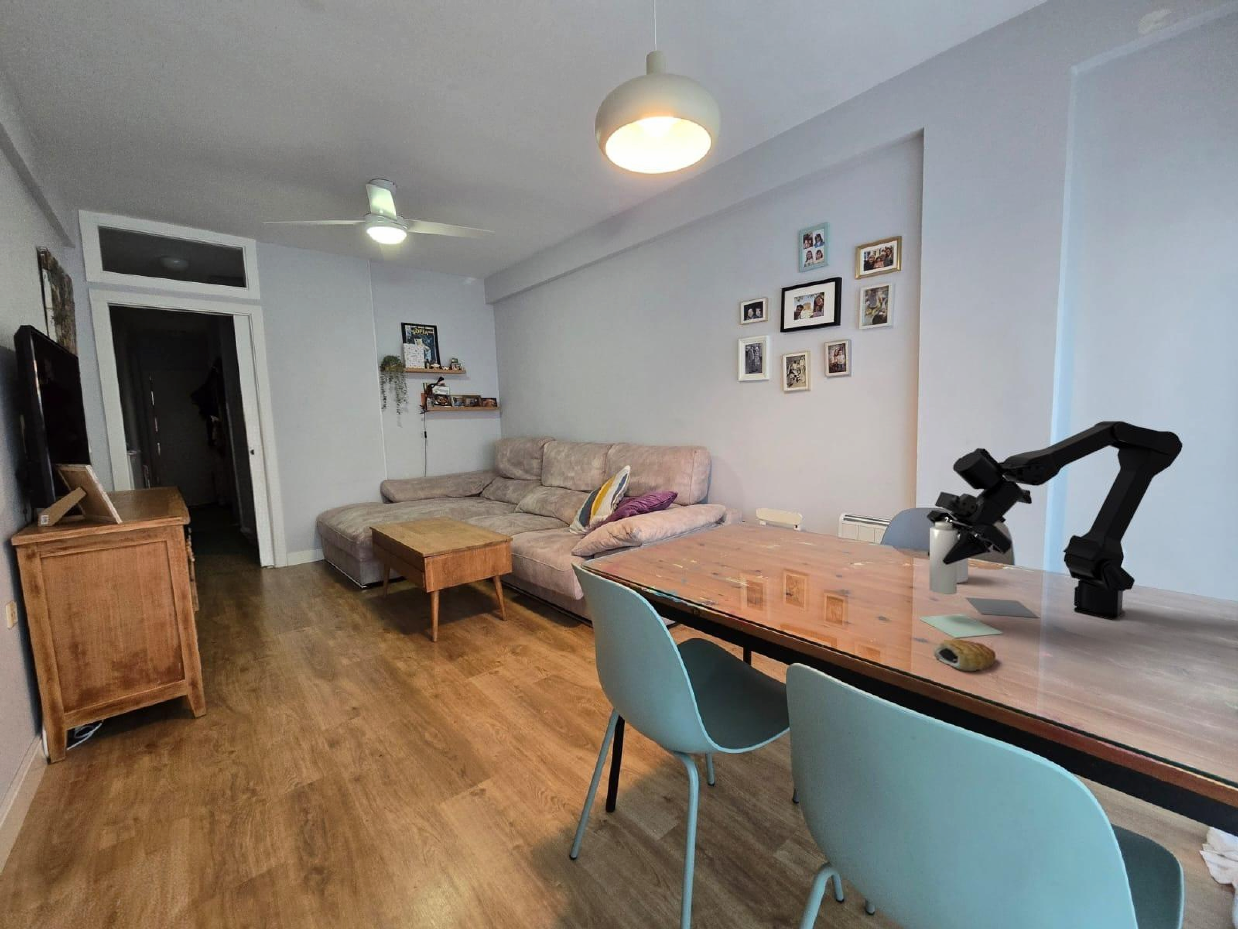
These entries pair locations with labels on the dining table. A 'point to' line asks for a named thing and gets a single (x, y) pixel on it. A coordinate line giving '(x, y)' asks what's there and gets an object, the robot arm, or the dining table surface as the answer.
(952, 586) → the white bottle
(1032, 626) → the dining table surface
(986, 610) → the felt pad
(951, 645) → the pastry
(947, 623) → the green tile
